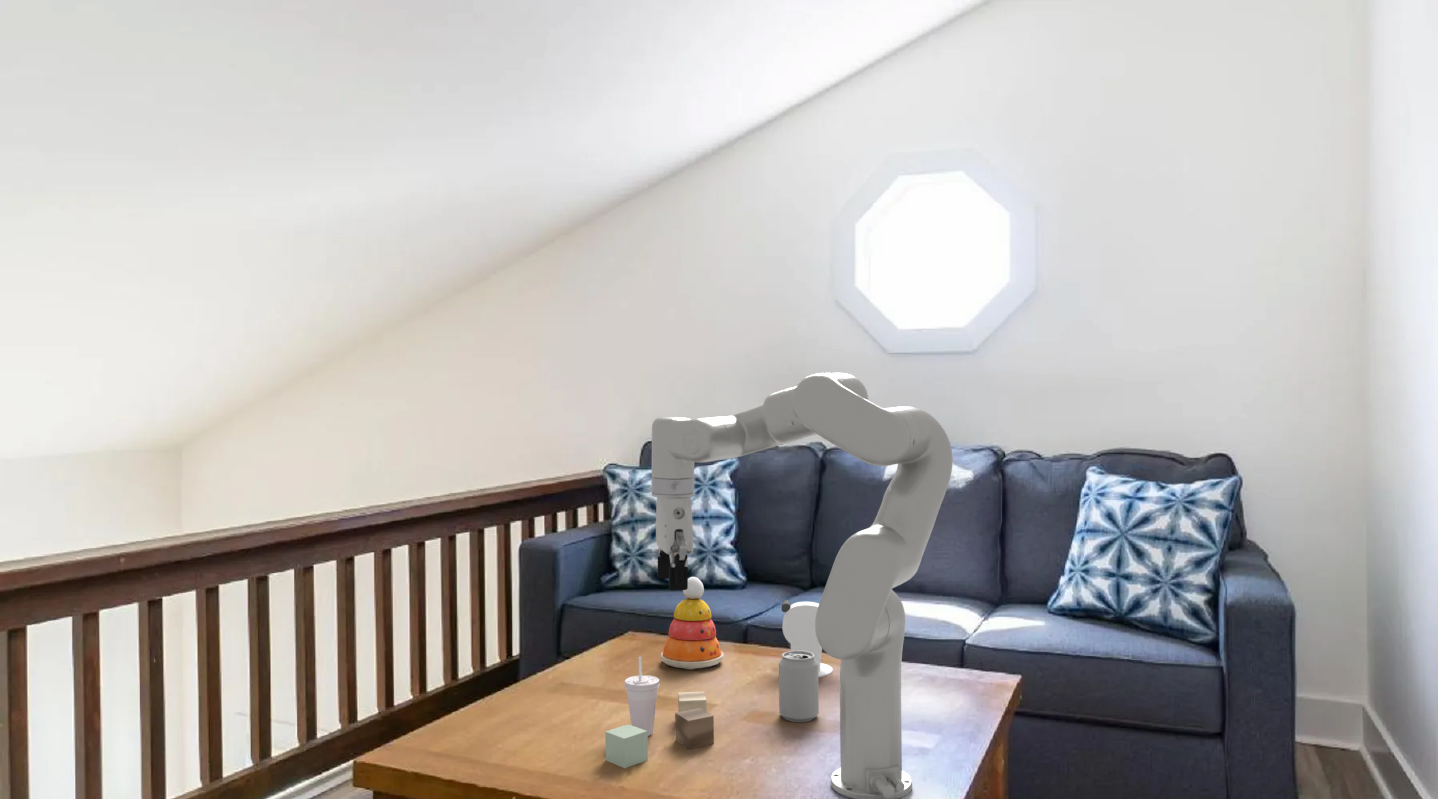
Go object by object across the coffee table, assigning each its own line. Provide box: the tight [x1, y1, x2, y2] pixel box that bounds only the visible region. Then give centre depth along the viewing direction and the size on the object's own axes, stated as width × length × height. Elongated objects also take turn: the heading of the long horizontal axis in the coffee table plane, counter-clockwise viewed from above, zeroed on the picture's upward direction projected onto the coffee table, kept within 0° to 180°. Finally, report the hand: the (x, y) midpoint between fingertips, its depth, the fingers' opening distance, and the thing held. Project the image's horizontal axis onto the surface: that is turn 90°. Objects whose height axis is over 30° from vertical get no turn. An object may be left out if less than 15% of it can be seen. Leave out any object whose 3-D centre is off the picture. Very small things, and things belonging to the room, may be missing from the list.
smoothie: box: [624, 656, 661, 737], centre depth 184 cm, size 6×6×14 cm
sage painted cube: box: [604, 723, 649, 769], centre depth 171 cm, size 5×5×5 cm
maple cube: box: [677, 691, 708, 712], centre depth 189 cm, size 5×5×5 cm
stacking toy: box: [660, 576, 725, 671], centre depth 228 cm, size 14×14×20 cm
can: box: [778, 650, 820, 723], centre depth 191 cm, size 8×8×12 cm
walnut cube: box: [674, 708, 715, 750], centre depth 179 cm, size 5×5×5 cm
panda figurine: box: [781, 599, 834, 678], centre depth 221 cm, size 12×11×15 cm
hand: (672, 583), depth 178 cm, fingers open, 9 cm apart
